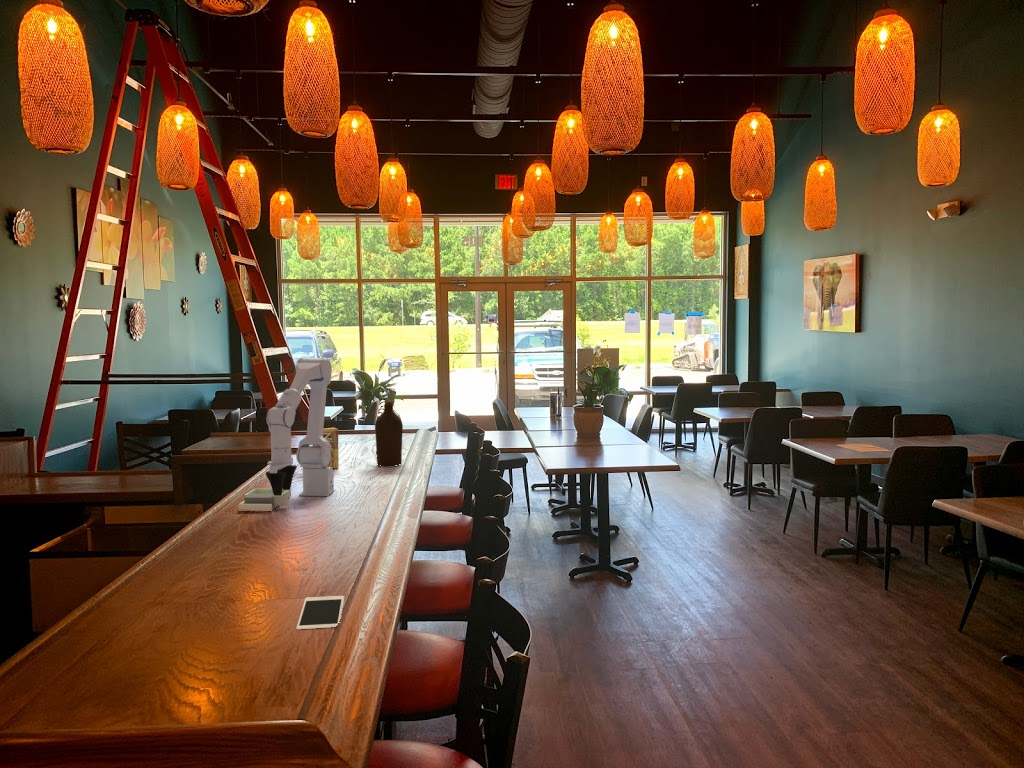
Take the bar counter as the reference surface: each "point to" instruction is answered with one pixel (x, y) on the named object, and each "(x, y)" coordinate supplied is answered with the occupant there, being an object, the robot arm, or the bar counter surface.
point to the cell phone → (320, 612)
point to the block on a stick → (266, 499)
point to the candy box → (332, 445)
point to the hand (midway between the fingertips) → (282, 492)
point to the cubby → (255, 506)
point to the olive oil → (388, 437)
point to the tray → (267, 492)
